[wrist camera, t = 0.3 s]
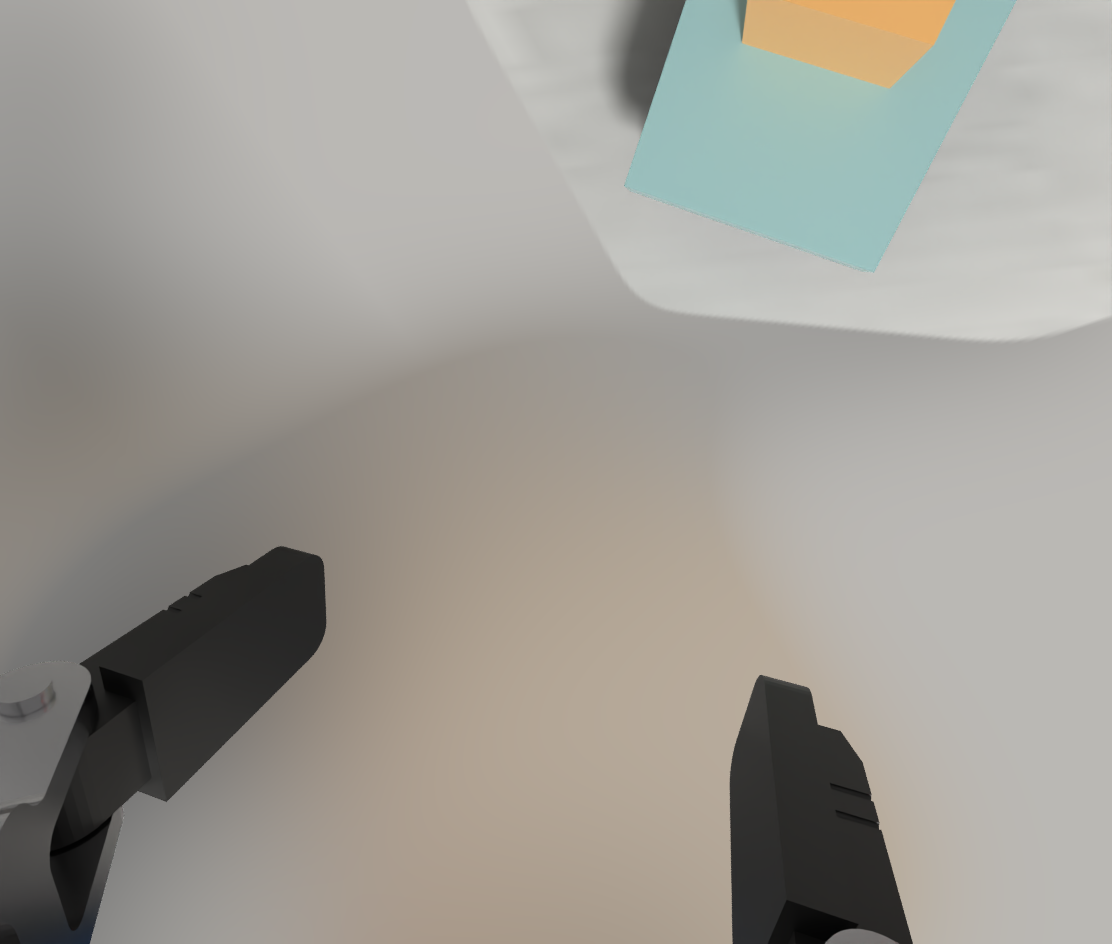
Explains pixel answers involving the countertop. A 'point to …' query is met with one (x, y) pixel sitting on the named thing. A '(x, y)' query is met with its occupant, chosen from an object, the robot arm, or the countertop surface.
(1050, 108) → the countertop surface
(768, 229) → the lid
